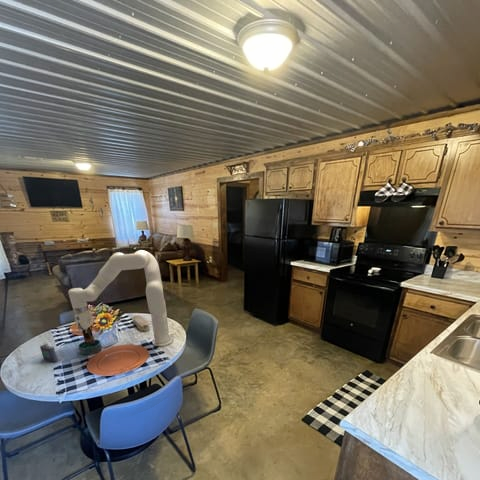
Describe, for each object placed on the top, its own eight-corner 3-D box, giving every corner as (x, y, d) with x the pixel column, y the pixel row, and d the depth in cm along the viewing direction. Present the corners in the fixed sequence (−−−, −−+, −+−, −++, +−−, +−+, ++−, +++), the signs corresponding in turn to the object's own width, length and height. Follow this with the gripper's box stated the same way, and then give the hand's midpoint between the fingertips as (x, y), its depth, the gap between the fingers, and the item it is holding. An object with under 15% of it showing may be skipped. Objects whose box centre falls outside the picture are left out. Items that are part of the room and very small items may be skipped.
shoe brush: (151, 329, 191) (150, 323, 189) (141, 332, 187) (140, 326, 185) (141, 319, 209) (140, 313, 207) (131, 321, 205) (130, 316, 203)
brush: (91, 339, 165) (88, 326, 161) (97, 341, 163) (93, 327, 159) (83, 343, 161) (79, 329, 157) (88, 345, 158) (84, 331, 154)
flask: (59, 360, 153) (53, 343, 149) (54, 362, 150) (49, 346, 146) (46, 357, 155) (41, 341, 151) (42, 360, 153) (36, 344, 148)
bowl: (94, 343, 171) (92, 337, 170) (106, 348, 165) (104, 342, 164) (75, 351, 162) (73, 345, 160) (87, 357, 156) (85, 350, 154)
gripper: (79, 314, 145) (87, 343, 153) (94, 304, 160) (101, 331, 168) (65, 314, 146) (74, 343, 153) (82, 304, 161) (89, 331, 168)
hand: (88, 337), depth 160 cm, fingers closed on brush, 2 cm apart
